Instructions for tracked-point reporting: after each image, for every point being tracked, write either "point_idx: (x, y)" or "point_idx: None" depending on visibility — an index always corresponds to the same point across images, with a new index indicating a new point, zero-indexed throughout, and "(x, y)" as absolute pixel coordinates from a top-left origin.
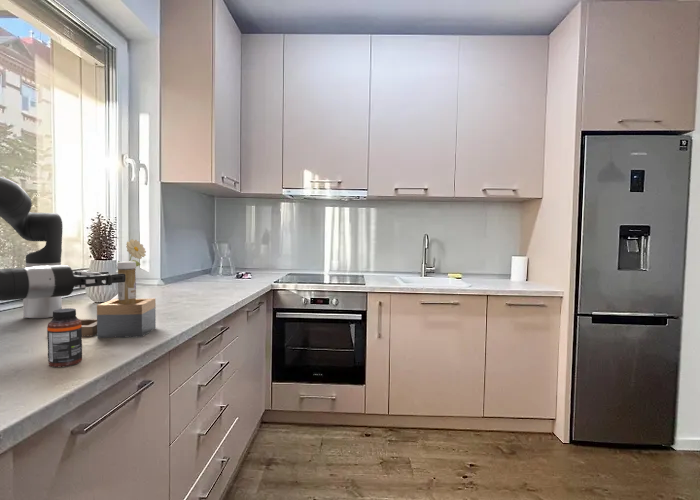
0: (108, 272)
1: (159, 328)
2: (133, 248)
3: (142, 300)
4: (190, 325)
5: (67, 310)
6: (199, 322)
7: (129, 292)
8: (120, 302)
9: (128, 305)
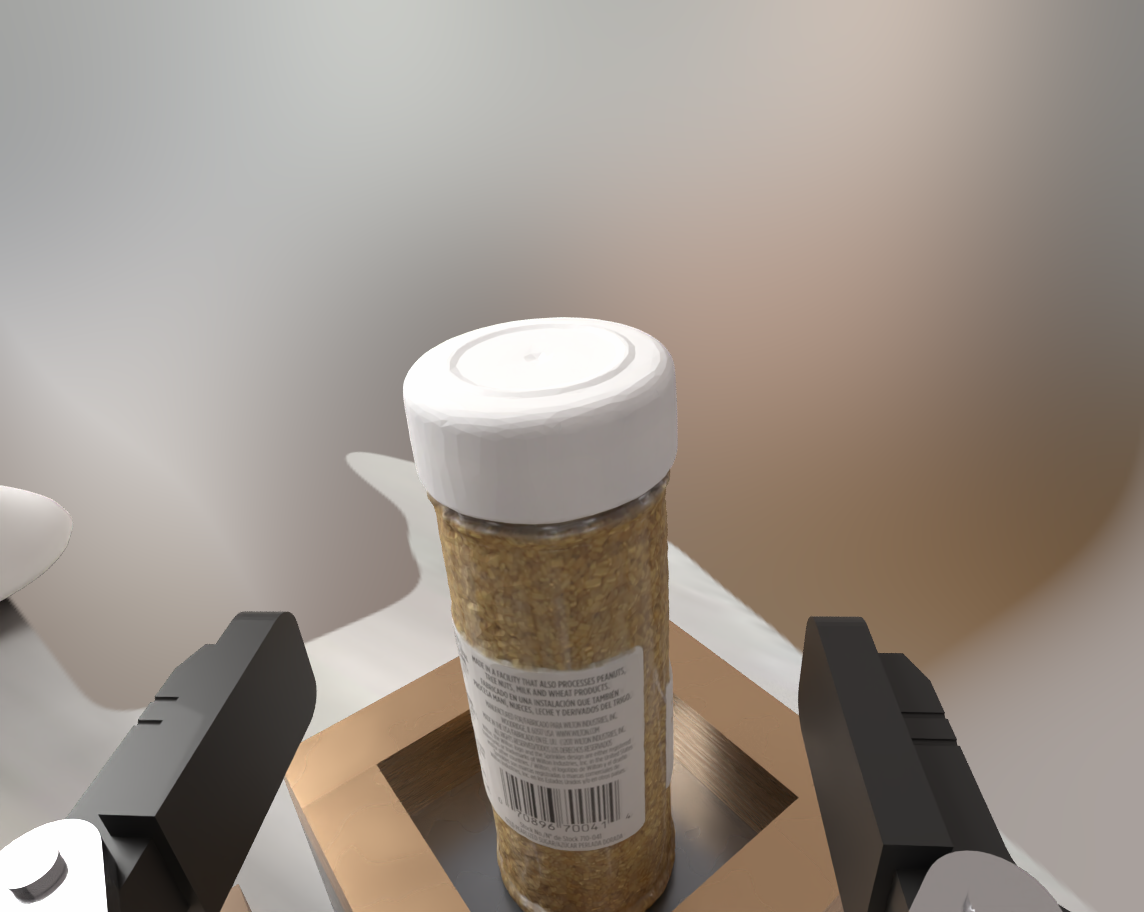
0: (288, 613)
1: None
2: None
3: None
4: (721, 609)
5: None
6: (683, 554)
7: (671, 724)
8: (592, 868)
9: (831, 906)
